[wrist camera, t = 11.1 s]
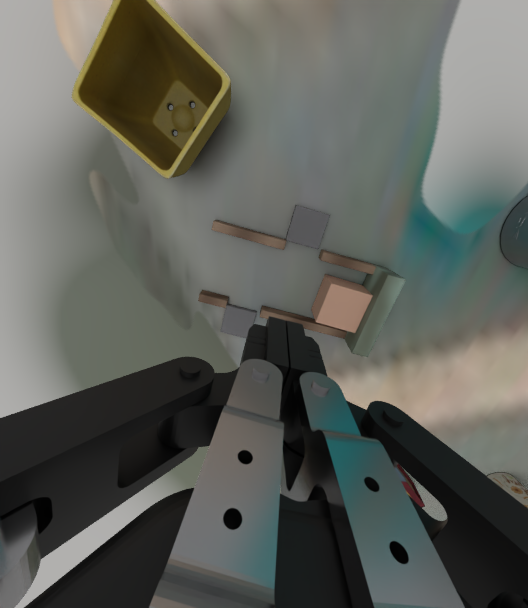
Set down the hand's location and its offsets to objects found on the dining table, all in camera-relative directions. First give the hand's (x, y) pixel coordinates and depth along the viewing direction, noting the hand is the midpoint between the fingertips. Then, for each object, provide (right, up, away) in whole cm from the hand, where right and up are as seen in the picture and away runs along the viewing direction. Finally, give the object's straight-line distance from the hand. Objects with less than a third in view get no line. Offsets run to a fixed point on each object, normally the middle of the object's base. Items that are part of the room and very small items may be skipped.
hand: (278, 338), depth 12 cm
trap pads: (0, +5, +22) cm, 23 cm away
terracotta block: (+9, +2, +23) cm, 25 cm away
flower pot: (-9, +21, +16) cm, 28 cm away
